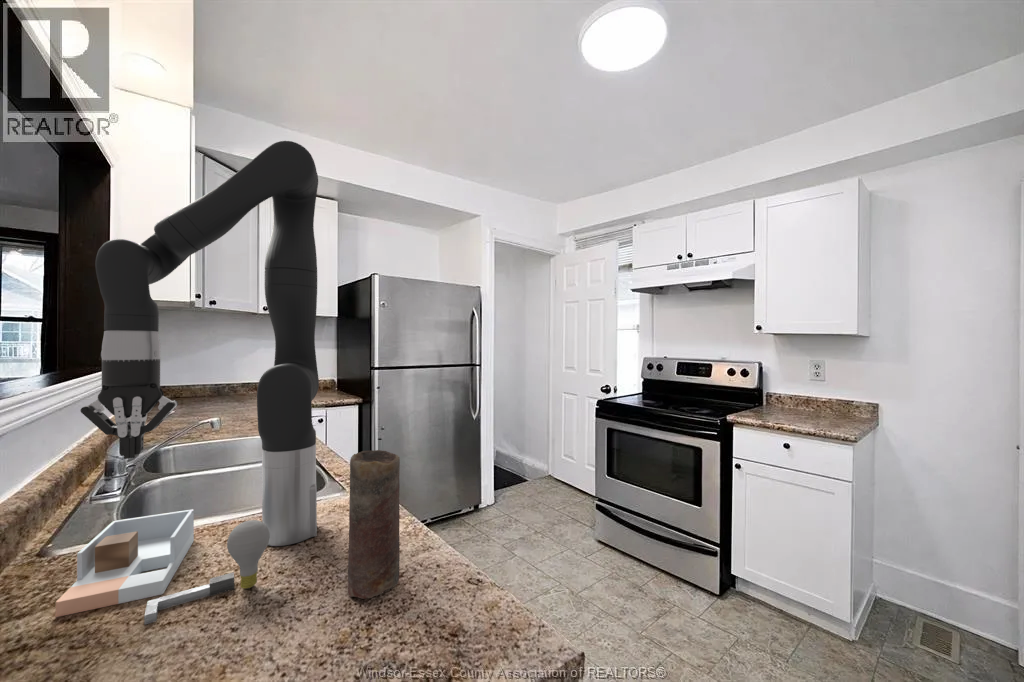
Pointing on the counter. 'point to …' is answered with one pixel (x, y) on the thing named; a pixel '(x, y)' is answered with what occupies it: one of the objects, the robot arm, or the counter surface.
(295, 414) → the robot arm
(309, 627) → the counter surface
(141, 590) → the cubby
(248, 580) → the light bulb
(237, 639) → the counter surface
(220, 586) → the hook tool
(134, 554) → the walnut cube
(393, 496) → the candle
